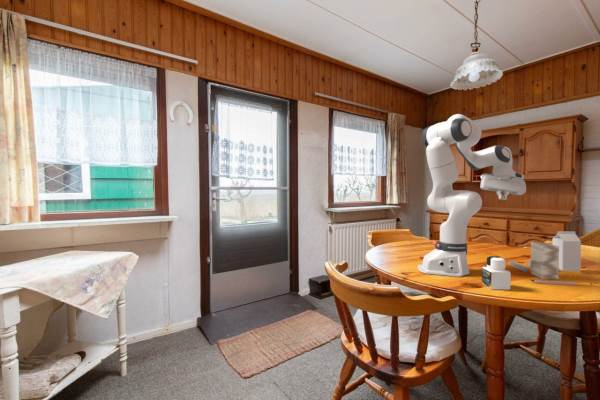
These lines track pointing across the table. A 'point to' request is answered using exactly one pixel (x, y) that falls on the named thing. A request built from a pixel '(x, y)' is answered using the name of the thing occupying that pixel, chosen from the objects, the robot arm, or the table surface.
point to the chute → (540, 280)
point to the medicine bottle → (496, 274)
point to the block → (545, 260)
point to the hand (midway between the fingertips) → (502, 199)
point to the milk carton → (568, 250)
